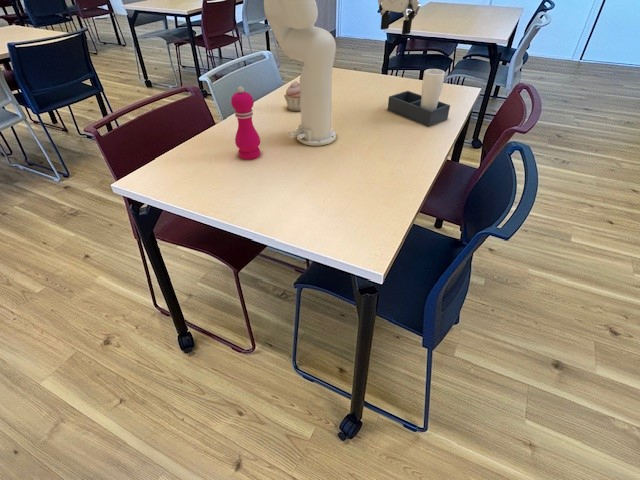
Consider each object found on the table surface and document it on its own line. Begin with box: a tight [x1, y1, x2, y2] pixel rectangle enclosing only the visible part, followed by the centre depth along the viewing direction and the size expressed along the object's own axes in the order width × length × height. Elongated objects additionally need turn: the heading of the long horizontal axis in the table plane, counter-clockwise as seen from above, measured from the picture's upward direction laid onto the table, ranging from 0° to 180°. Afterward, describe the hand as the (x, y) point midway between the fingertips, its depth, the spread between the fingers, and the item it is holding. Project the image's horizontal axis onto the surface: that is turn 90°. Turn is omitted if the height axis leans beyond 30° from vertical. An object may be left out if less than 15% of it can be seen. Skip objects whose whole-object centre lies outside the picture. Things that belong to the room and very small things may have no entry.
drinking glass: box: [420, 68, 446, 111], centre depth 129 cm, size 7×7×15 cm
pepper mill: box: [230, 86, 261, 161], centre depth 107 cm, size 7×7×20 cm
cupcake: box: [283, 80, 301, 112], centre depth 139 cm, size 9×9×10 cm
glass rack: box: [387, 90, 451, 127], centre depth 135 cm, size 10×19×5 cm, turn 38°
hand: (394, 31), depth 123 cm, fingers open, 9 cm apart
